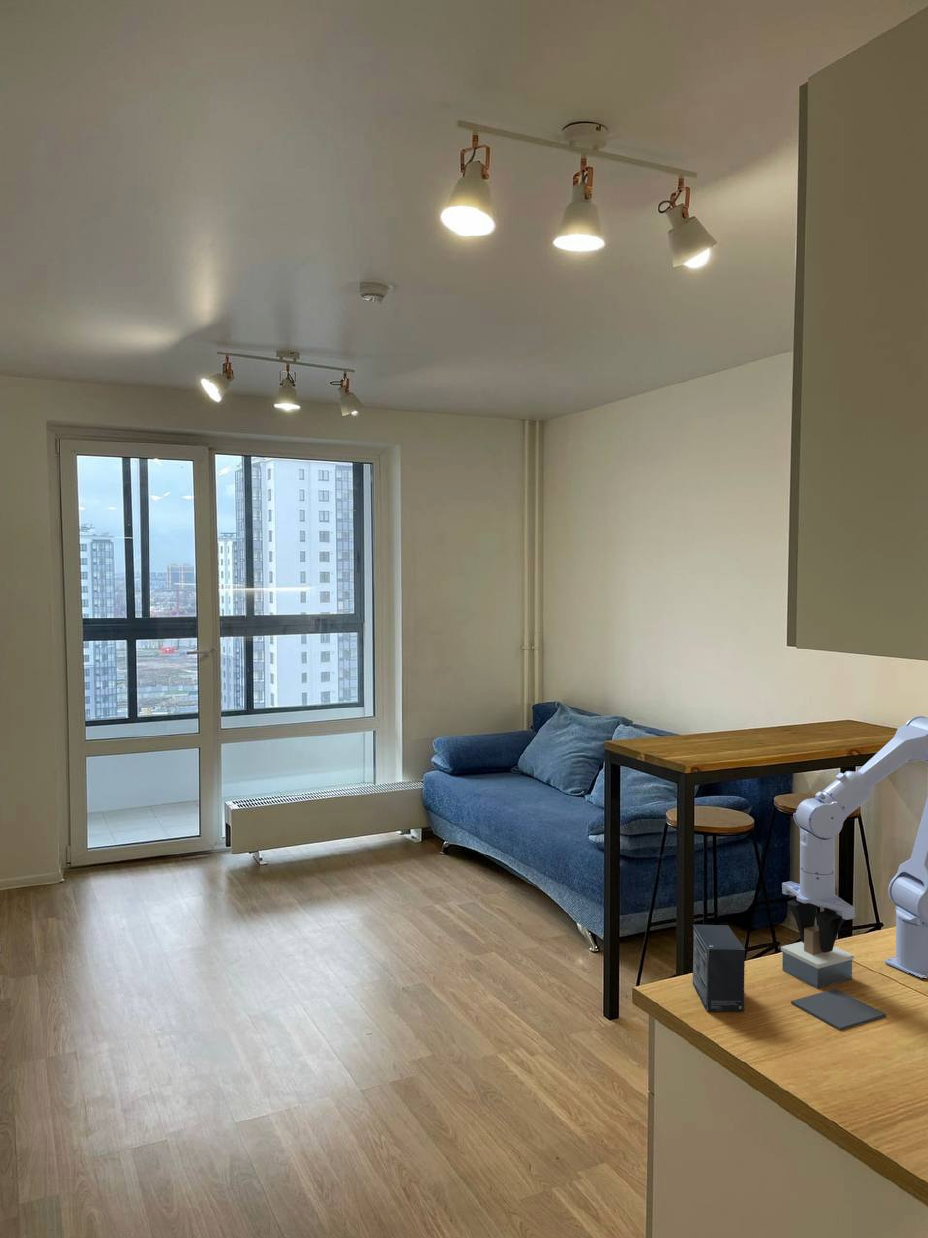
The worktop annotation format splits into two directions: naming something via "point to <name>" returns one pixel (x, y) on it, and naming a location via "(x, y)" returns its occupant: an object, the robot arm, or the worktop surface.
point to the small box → (718, 968)
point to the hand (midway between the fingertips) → (816, 946)
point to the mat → (838, 1009)
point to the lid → (815, 950)
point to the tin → (817, 971)
